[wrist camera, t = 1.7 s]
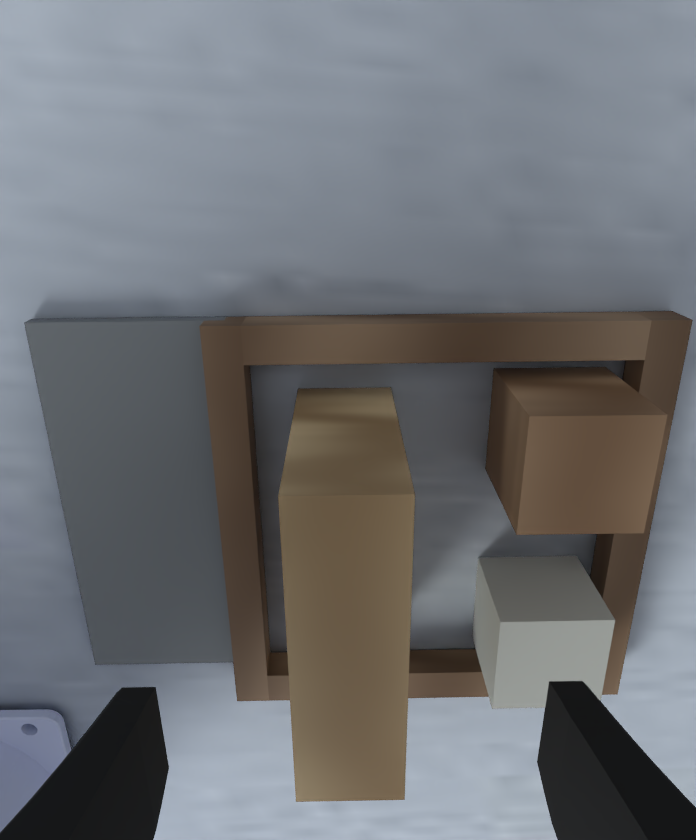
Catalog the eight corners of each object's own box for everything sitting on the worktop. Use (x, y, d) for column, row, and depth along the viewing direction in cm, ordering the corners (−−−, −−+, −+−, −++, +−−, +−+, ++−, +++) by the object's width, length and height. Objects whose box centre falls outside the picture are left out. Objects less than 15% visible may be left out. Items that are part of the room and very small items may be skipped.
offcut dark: (485, 467, 18) (516, 534, 15) (493, 367, 17) (529, 416, 14) (589, 466, 18) (644, 533, 15) (604, 366, 17) (667, 414, 14)
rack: (241, 676, 21) (237, 700, 20) (207, 316, 16) (199, 326, 15) (604, 670, 21) (617, 694, 20) (672, 310, 16) (692, 319, 15)
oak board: (308, 624, 20) (295, 801, 14) (298, 387, 17) (278, 496, 11) (386, 623, 20) (404, 799, 14) (390, 386, 17) (415, 494, 11)
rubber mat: (99, 655, 20) (95, 664, 20) (31, 318, 16) (24, 322, 16) (254, 652, 20) (253, 661, 20) (227, 316, 16) (224, 320, 16)
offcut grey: (471, 634, 20) (492, 708, 17) (477, 555, 19) (500, 622, 16) (564, 632, 20) (599, 706, 18) (575, 553, 19) (615, 620, 16)
